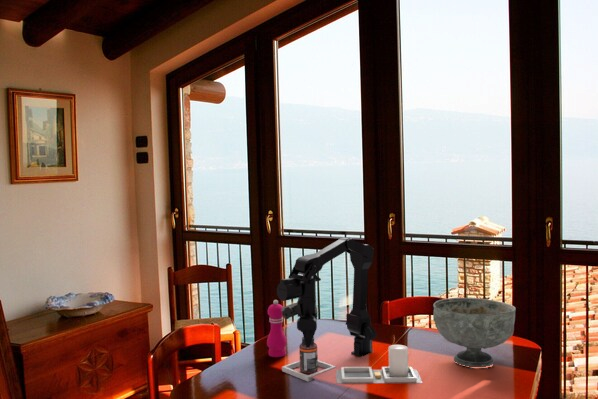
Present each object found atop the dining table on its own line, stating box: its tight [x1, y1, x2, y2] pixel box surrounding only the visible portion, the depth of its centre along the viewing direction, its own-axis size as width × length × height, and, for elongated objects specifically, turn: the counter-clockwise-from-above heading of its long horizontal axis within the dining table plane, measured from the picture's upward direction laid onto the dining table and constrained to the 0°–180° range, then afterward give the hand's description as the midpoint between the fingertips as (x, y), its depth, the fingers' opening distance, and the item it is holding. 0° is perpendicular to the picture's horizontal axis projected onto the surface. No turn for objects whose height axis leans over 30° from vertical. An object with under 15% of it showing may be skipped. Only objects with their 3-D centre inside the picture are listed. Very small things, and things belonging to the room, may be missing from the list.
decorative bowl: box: [432, 297, 516, 367], centre depth 181 cm, size 26×26×20 cm
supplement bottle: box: [298, 336, 319, 375], centre depth 176 cm, size 6×6×11 cm
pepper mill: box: [266, 299, 288, 358], centre depth 193 cm, size 7×7×20 cm
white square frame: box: [281, 359, 337, 382], centre depth 177 cm, size 13×13×2 cm
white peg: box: [388, 344, 409, 377], centre depth 167 cm, size 6×6×9 cm
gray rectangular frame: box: [335, 366, 423, 384], centre depth 168 cm, size 26×11×2 cm, turn 87°
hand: (308, 342), depth 176 cm, fingers open, 9 cm apart
